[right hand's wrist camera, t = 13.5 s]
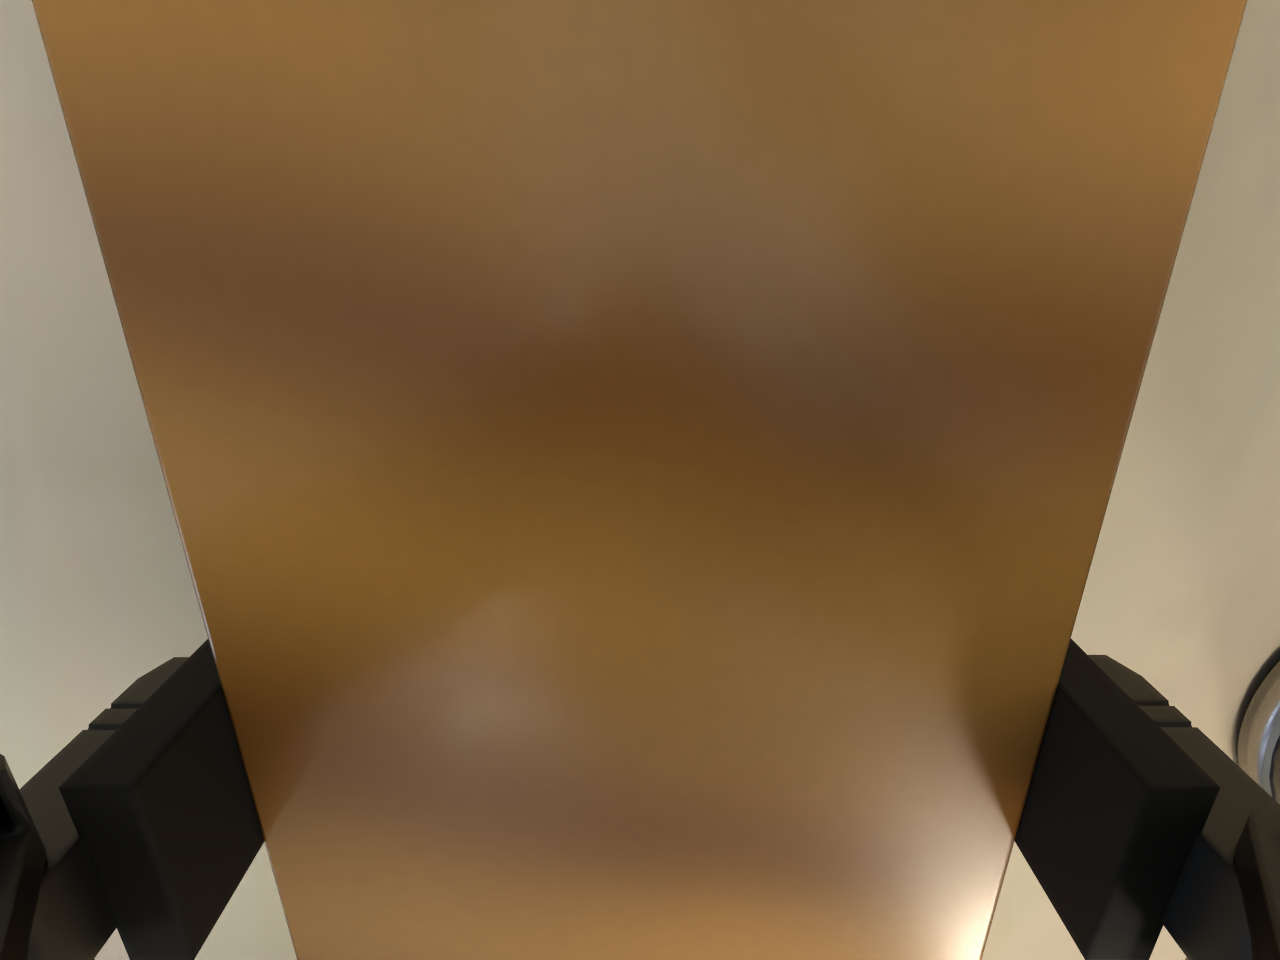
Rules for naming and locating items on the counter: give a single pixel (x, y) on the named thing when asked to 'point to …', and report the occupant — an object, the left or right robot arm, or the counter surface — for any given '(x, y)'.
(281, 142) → the cabinet
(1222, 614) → the counter surface
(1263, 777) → the left robot arm
